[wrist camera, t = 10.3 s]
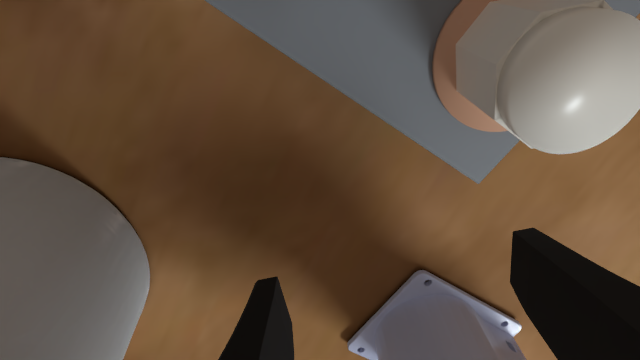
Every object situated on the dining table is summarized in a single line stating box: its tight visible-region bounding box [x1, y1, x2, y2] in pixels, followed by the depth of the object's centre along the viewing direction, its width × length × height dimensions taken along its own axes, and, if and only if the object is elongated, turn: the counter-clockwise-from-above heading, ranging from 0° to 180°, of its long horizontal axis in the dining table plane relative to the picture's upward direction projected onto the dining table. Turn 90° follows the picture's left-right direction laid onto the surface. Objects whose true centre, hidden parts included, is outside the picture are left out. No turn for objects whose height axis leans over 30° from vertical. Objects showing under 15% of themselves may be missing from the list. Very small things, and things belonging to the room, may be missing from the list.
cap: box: [456, 0, 640, 154], centre depth 16 cm, size 5×5×5 cm
